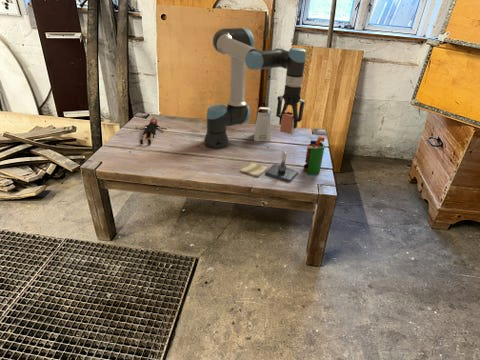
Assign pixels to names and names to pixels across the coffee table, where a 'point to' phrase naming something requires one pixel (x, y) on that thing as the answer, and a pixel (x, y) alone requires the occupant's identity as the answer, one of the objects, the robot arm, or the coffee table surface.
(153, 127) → the woman figure
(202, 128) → the coffee table surface
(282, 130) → the square copper sleeve
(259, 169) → the plywood pad
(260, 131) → the grater
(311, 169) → the motor
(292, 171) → the grey peg stand
